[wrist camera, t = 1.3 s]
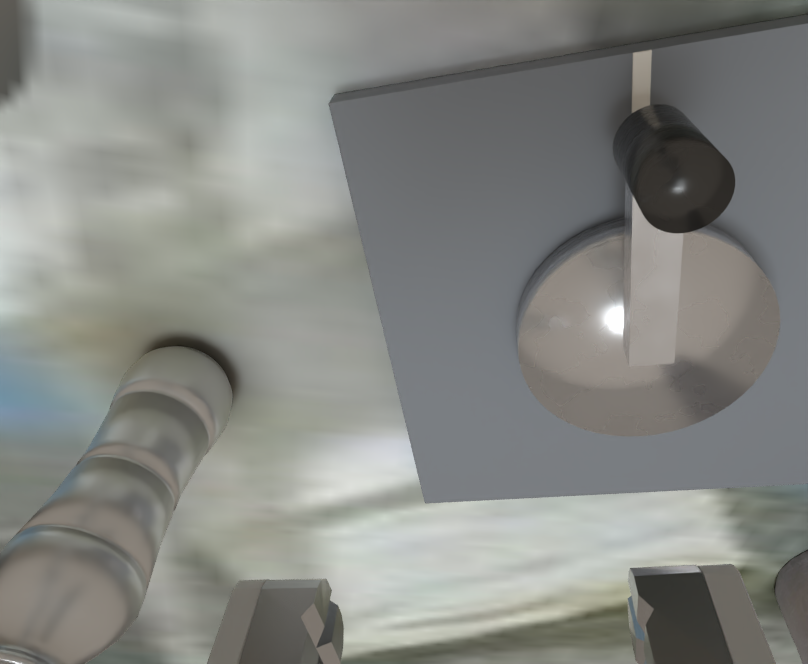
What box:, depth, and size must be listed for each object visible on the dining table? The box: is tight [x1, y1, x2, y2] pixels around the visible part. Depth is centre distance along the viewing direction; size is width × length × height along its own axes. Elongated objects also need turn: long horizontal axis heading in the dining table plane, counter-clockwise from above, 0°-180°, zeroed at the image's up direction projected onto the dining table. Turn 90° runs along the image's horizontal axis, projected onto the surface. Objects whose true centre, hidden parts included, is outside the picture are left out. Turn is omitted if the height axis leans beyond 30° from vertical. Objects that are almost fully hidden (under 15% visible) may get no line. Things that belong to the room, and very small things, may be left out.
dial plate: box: [329, 14, 808, 503], centre depth 33 cm, size 26×26×2 cm
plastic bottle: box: [0, 346, 233, 664], centre depth 31 cm, size 6×7×20 cm
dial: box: [516, 104, 780, 437], centre depth 28 cm, size 18×12×7 cm
